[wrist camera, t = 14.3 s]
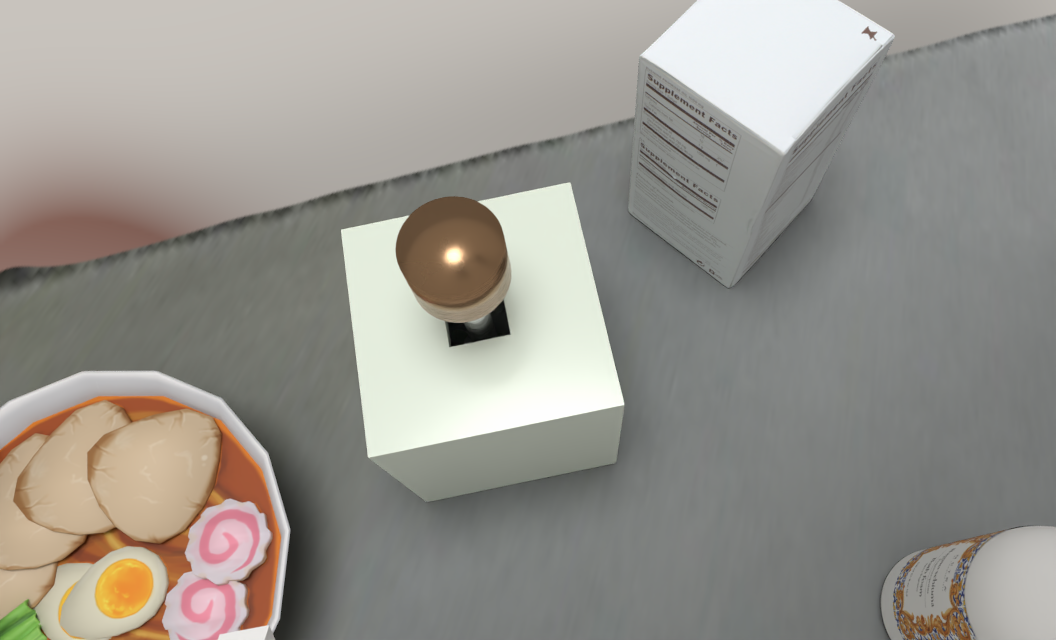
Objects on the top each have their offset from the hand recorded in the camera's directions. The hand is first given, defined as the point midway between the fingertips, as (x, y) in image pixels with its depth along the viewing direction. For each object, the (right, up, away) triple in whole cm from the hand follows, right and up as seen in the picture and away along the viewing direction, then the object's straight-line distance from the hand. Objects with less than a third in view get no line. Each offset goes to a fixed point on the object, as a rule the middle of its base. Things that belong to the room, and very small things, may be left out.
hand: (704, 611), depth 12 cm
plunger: (-4, +1, +37) cm, 38 cm away
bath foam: (+21, -12, +33) cm, 41 cm away
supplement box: (+11, +12, +44) cm, 47 cm away
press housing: (-4, 0, +40) cm, 40 cm away
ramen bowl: (-26, -12, +37) cm, 47 cm away
